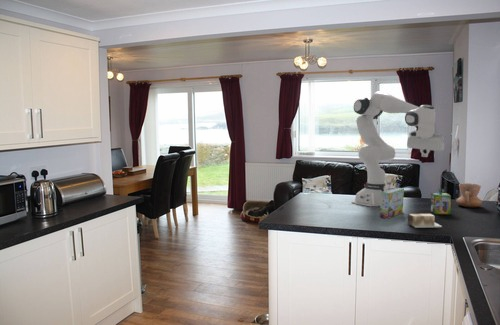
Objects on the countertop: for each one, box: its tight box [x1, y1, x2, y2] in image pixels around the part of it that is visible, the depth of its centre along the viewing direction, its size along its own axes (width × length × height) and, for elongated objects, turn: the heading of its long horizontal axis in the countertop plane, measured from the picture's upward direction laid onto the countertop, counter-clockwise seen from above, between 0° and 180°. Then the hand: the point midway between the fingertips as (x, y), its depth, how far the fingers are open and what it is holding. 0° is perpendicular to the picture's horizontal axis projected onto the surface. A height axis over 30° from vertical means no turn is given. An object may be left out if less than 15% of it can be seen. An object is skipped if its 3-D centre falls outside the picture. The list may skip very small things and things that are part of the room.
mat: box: [411, 222, 443, 229], centre depth 213 cm, size 14×9×1 cm, turn 91°
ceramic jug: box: [456, 182, 483, 209], centre depth 257 cm, size 18×14×14 cm
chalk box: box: [430, 187, 452, 215], centre depth 240 cm, size 9×9×15 cm
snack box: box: [379, 187, 405, 220], centre depth 236 cm, size 21×6×15 cm, turn 138°
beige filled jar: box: [407, 213, 436, 226], centre depth 213 cm, size 5×5×12 cm
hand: (424, 156), depth 235 cm, fingers closed
